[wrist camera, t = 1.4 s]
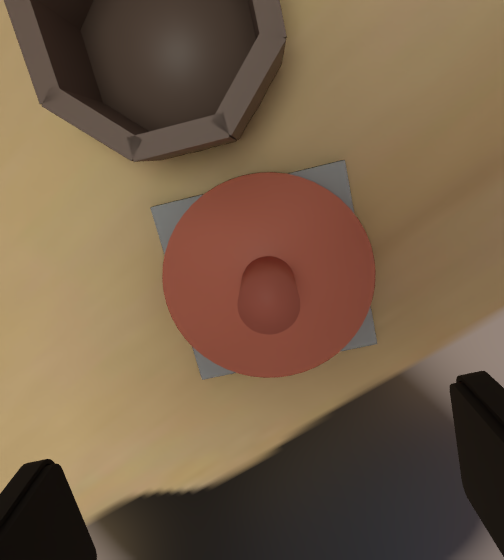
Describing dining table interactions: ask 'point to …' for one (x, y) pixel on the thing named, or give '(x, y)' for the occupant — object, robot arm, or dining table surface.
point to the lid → (268, 275)
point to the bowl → (151, 68)
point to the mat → (324, 175)
